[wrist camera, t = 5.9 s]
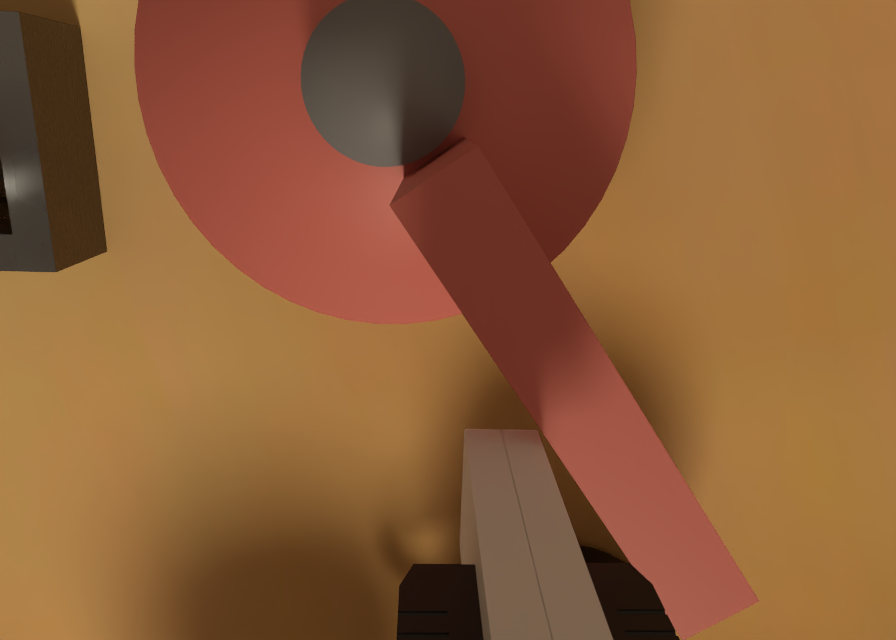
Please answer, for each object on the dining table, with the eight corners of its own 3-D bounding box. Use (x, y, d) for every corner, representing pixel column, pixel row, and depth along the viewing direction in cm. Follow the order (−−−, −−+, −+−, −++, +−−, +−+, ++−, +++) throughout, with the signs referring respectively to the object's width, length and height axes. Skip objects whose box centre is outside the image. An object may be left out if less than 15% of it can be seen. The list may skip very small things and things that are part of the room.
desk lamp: (465, 540, 22) (480, 744, 15) (71, 17, 17) (-190, -55, 10) (795, 352, 20) (992, 481, 13) (459, -287, 15) (480, -637, 8)
